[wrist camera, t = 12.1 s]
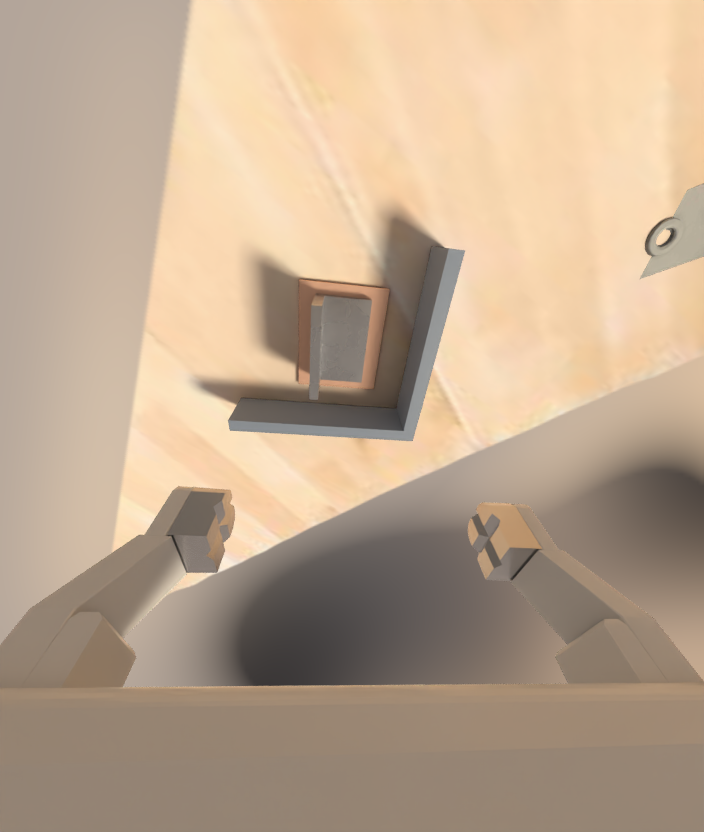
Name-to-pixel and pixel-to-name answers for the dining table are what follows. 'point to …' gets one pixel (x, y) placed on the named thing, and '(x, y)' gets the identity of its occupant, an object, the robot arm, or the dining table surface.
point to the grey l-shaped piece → (361, 418)
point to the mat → (374, 332)
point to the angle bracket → (337, 339)
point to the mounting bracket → (679, 235)
